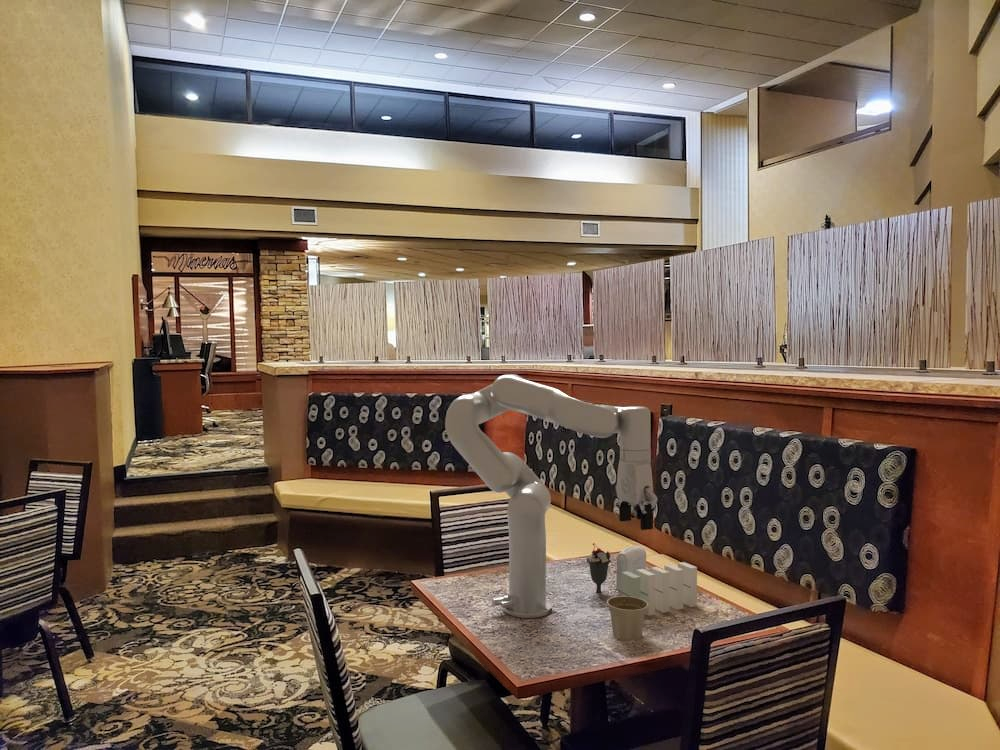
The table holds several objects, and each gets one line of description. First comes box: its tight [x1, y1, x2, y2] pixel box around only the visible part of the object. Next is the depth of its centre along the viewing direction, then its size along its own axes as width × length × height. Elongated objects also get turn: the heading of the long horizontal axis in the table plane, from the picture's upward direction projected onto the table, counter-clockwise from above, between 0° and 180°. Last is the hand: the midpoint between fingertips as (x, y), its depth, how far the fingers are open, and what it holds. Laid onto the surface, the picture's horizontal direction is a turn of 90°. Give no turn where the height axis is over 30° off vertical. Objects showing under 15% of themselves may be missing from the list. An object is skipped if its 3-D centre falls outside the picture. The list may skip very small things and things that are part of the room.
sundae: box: [586, 542, 612, 595], centre depth 184 cm, size 7×7×15 cm
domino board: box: [644, 603, 706, 621], centre depth 172 cm, size 23×9×1 cm, turn 116°
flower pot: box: [606, 595, 648, 642], centre depth 155 cm, size 9×9×9 cm
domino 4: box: [677, 561, 698, 607], centre depth 176 cm, size 2×5×10 cm, turn 26°
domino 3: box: [663, 563, 683, 610], centre depth 174 cm, size 2×5×10 cm, turn 26°
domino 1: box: [636, 569, 655, 616], centre depth 170 cm, size 2×5×10 cm, turn 26°
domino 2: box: [649, 566, 669, 613], centre depth 172 cm, size 2×5×10 cm, turn 26°
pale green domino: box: [620, 571, 640, 598], centre depth 168 cm, size 2×5×10 cm, turn 26°
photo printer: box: [616, 545, 647, 592], centre depth 189 cm, size 10×4×12 cm, turn 134°
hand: (635, 524), depth 168 cm, fingers open, 9 cm apart
